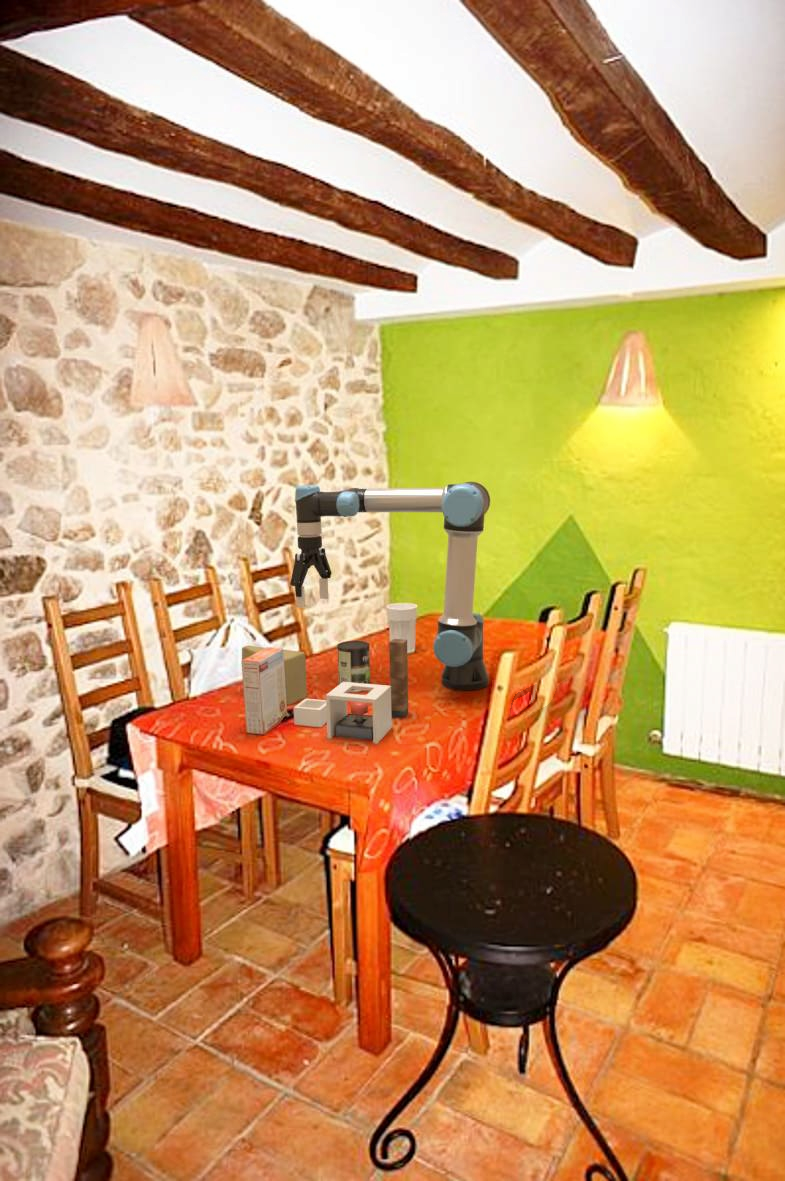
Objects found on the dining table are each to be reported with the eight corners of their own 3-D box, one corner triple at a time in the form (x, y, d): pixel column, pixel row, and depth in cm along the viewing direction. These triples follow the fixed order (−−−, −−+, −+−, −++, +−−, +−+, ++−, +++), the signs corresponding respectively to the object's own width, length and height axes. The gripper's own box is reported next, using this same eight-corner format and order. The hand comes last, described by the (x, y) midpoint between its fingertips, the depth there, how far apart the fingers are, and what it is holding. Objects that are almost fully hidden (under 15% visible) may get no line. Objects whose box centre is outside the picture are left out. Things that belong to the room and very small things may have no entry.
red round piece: (370, 721, 218) (370, 700, 217) (364, 727, 214) (364, 706, 213) (354, 720, 219) (354, 699, 218) (348, 725, 215) (348, 704, 214)
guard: (391, 727, 220) (390, 685, 218) (377, 743, 209) (375, 699, 207) (344, 722, 225) (343, 681, 222) (327, 738, 214) (325, 695, 211)
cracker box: (269, 716, 231) (265, 646, 227) (288, 718, 229) (284, 647, 225) (244, 733, 218) (240, 659, 214) (264, 736, 216) (260, 661, 212)
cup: (423, 650, 298) (423, 604, 295) (407, 657, 289) (407, 610, 286) (397, 646, 304) (397, 601, 301) (381, 653, 295) (380, 607, 292)
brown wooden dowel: (408, 713, 231) (407, 639, 227) (404, 718, 227) (402, 643, 223) (395, 712, 232) (393, 638, 228) (390, 717, 229) (389, 642, 225)
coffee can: (373, 683, 260) (372, 640, 258) (366, 693, 250) (365, 649, 248) (343, 681, 262) (341, 639, 260) (334, 691, 253) (333, 648, 250)
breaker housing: (383, 728, 220) (382, 716, 219) (371, 740, 211) (371, 728, 211) (349, 725, 223) (348, 713, 222) (336, 737, 214) (336, 724, 214)
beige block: (233, 694, 251) (230, 648, 249) (254, 686, 259) (252, 641, 257) (288, 706, 240) (285, 658, 237) (308, 697, 248) (306, 650, 245)
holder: (332, 717, 229) (331, 700, 228) (320, 727, 222) (320, 710, 221) (306, 715, 232) (305, 698, 231) (294, 724, 224) (293, 707, 223)
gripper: (320, 530, 262) (323, 594, 266) (276, 540, 240) (280, 609, 244) (340, 531, 258) (343, 595, 262) (297, 541, 236) (301, 611, 240)
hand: (312, 602), depth 253 cm, fingers open, 13 cm apart
